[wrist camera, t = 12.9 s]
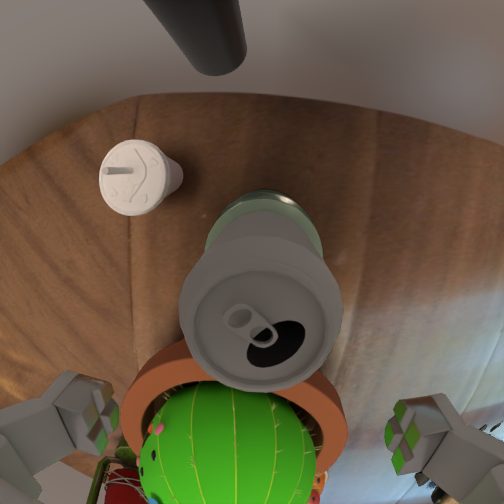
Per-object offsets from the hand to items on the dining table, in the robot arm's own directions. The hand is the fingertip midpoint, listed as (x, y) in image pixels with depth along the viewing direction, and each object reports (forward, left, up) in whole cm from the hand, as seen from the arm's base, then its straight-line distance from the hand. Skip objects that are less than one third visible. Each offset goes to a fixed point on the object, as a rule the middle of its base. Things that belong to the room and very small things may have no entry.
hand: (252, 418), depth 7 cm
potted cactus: (+18, -2, -27) cm, 32 cm away
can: (0, 0, -17) cm, 17 cm away
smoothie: (-6, -11, -27) cm, 29 cm away
